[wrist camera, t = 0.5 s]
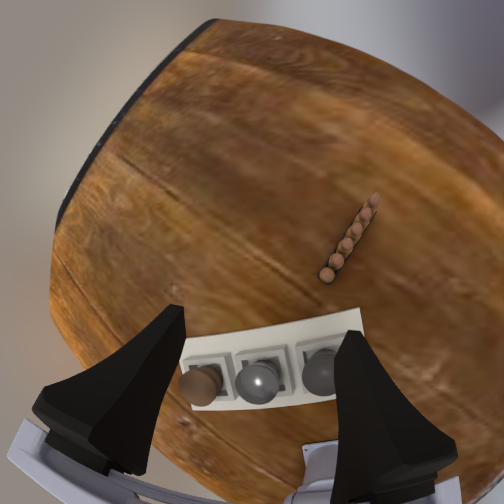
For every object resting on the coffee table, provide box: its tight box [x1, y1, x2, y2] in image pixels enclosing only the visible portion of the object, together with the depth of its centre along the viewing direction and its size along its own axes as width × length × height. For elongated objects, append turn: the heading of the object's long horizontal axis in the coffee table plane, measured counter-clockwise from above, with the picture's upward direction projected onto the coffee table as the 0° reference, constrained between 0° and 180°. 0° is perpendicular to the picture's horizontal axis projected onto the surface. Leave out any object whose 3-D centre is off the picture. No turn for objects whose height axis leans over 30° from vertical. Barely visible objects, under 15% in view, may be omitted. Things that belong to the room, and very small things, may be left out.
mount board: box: [179, 307, 364, 410], centre depth 34 cm, size 12×27×4 cm, turn 102°
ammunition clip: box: [317, 193, 380, 285], centre depth 29 cm, size 11×2×12 cm, turn 144°
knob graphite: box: [302, 349, 337, 396], centre depth 29 cm, size 5×5×4 cm
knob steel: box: [235, 360, 281, 405], centre depth 31 cm, size 5×5×4 cm
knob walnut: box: [179, 366, 223, 407], centre depth 33 cm, size 5×5×4 cm
